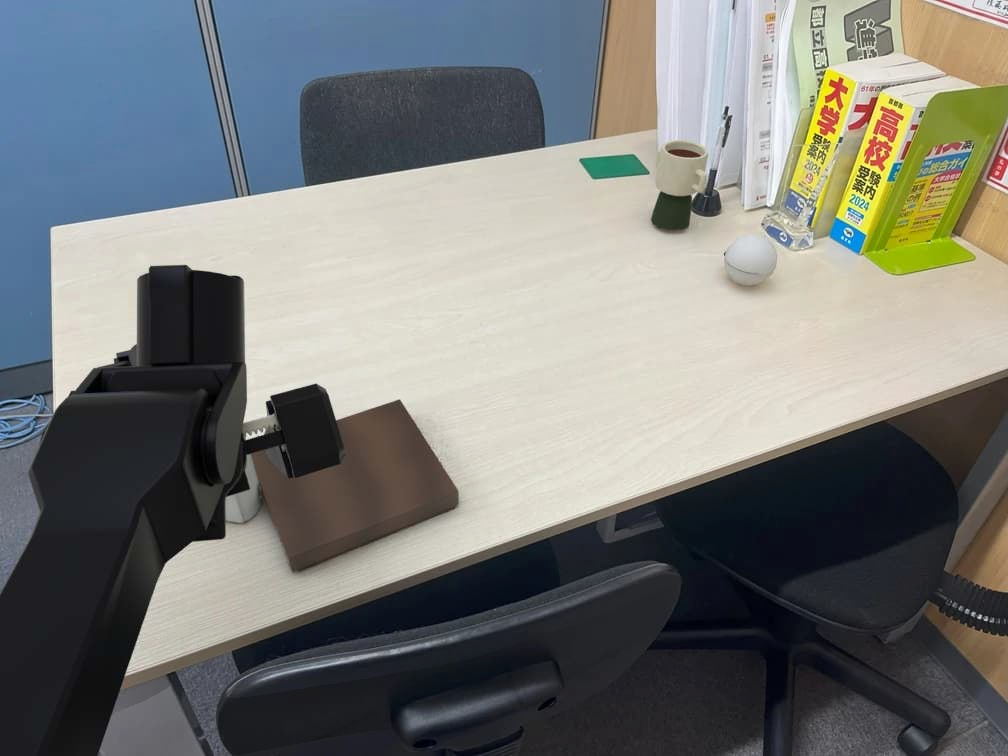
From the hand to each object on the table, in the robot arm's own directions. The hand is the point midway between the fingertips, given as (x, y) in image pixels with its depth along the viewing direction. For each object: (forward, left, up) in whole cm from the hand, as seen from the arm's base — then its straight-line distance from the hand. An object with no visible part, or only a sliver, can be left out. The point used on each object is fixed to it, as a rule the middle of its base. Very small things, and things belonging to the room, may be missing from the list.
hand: (209, 463), depth 57 cm
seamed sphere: (+75, +15, -14) cm, 78 cm away
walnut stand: (+12, +4, -13) cm, 19 cm away
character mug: (+77, +33, -14) cm, 85 cm away
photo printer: (-1, +9, -14) cm, 16 cm away
